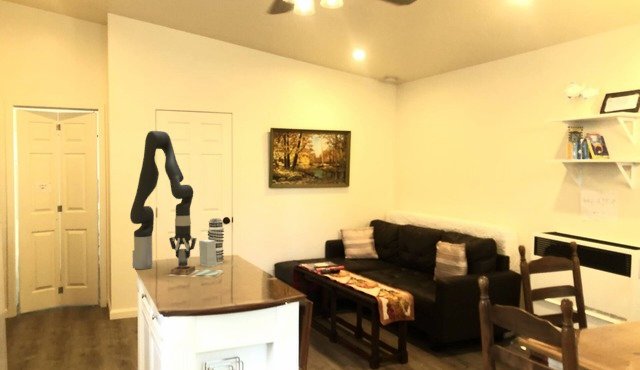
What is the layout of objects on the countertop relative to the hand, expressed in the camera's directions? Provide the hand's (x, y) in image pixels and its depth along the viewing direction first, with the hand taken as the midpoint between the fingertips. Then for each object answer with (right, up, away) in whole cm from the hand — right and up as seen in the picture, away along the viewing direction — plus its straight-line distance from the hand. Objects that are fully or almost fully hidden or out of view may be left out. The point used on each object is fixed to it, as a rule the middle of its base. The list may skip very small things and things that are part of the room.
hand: (183, 257), depth 242 cm
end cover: (0, -4, 0) cm, 4 cm away
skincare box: (+8, -8, +18) cm, 21 cm away
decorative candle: (+10, -8, +31) cm, 33 cm away
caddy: (+7, -9, -1) cm, 11 cm away
